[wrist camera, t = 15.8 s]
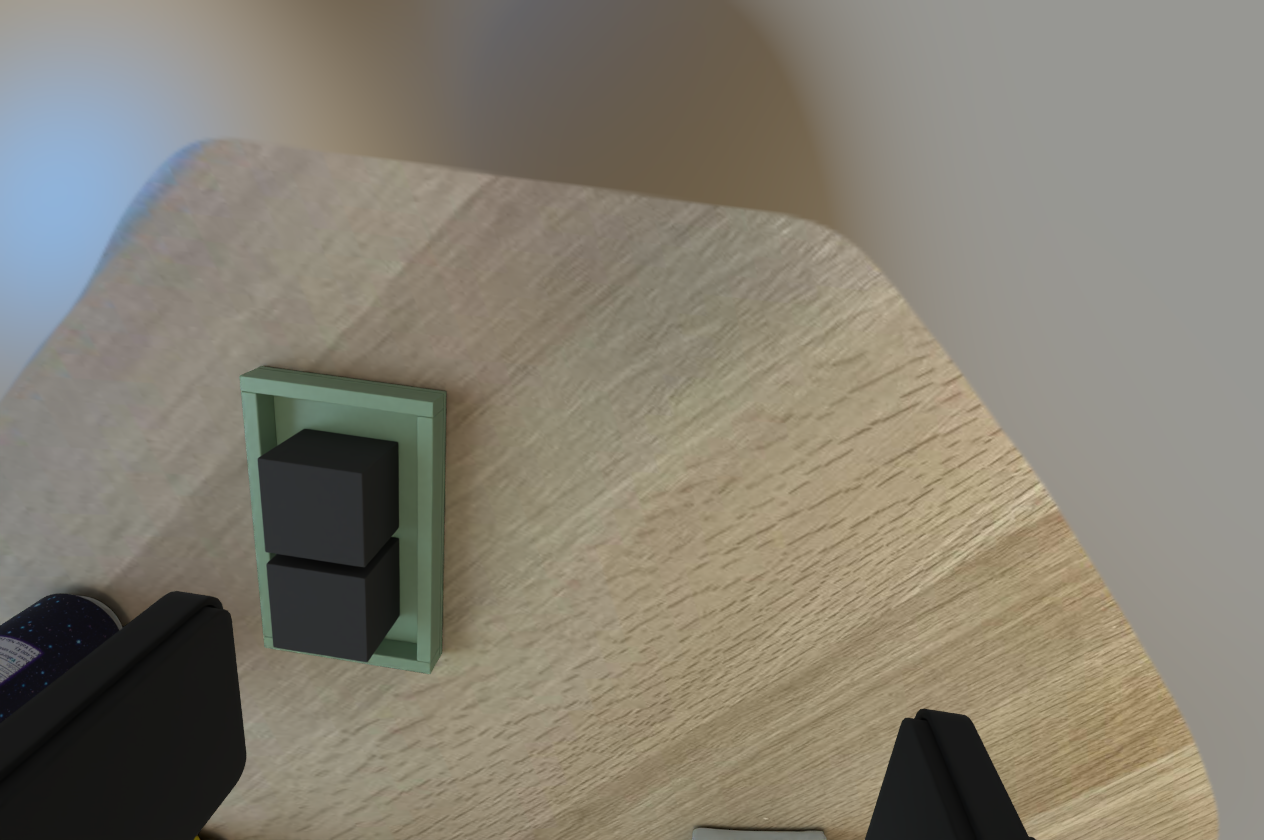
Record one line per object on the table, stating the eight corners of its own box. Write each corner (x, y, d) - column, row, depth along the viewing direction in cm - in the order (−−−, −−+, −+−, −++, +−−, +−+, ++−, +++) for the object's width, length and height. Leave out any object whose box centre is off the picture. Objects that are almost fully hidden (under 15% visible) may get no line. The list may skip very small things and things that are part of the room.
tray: (261, 365, 35) (238, 375, 33) (446, 391, 34) (433, 402, 33) (282, 628, 40) (263, 648, 39) (442, 653, 40) (430, 674, 38)
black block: (309, 524, 37) (265, 563, 33) (399, 537, 37) (365, 578, 33) (314, 602, 39) (272, 647, 35) (400, 615, 39) (367, 663, 35)
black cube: (304, 427, 35) (256, 458, 32) (398, 441, 35) (362, 473, 31) (309, 514, 37) (264, 552, 33) (399, 527, 37) (364, 568, 33)
